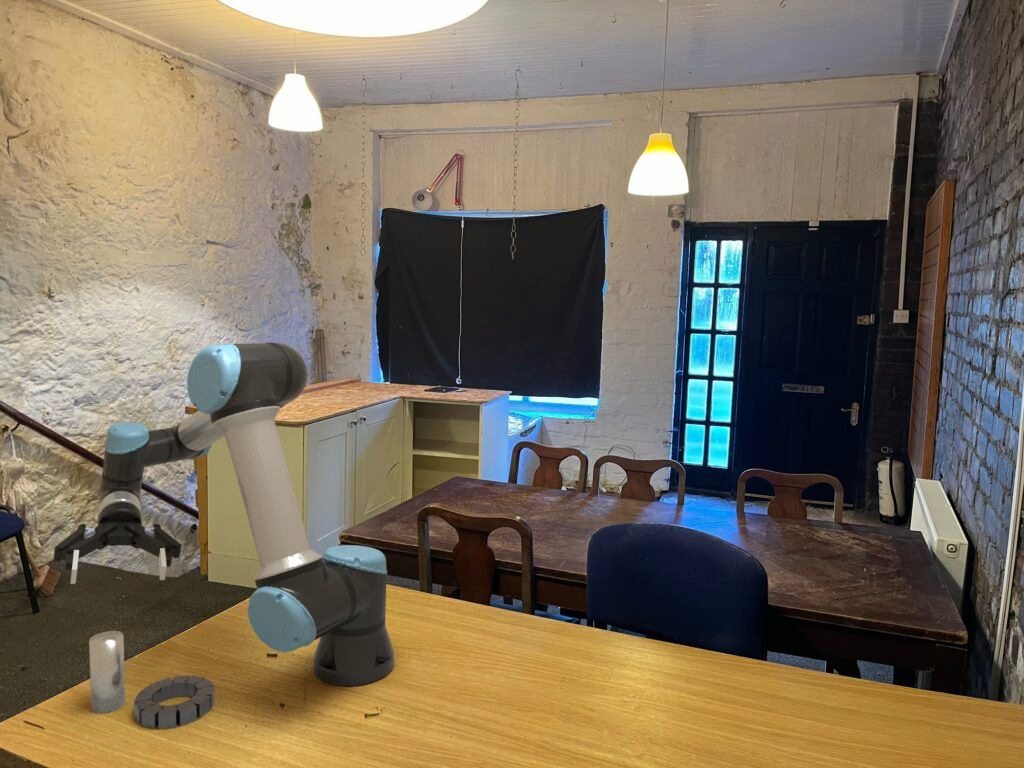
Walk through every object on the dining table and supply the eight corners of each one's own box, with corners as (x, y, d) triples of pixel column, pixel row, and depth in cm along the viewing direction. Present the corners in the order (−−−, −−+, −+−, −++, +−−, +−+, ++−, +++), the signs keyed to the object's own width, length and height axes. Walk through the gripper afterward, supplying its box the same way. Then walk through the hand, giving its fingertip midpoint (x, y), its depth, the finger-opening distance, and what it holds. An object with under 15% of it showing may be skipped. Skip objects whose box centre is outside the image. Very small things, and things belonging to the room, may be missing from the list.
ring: (218, 685, 128) (218, 672, 127) (207, 723, 116) (207, 709, 116) (145, 692, 125) (144, 679, 124) (126, 732, 113) (126, 717, 113)
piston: (128, 695, 123) (127, 629, 122) (120, 711, 119) (118, 643, 117) (96, 698, 122) (94, 632, 121) (87, 715, 117) (85, 645, 116)
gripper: (186, 534, 147) (195, 590, 130) (43, 535, 135) (31, 598, 117) (190, 501, 146) (200, 553, 128) (46, 499, 133) (35, 557, 115)
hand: (119, 575), depth 123 cm, fingers open, 13 cm apart
